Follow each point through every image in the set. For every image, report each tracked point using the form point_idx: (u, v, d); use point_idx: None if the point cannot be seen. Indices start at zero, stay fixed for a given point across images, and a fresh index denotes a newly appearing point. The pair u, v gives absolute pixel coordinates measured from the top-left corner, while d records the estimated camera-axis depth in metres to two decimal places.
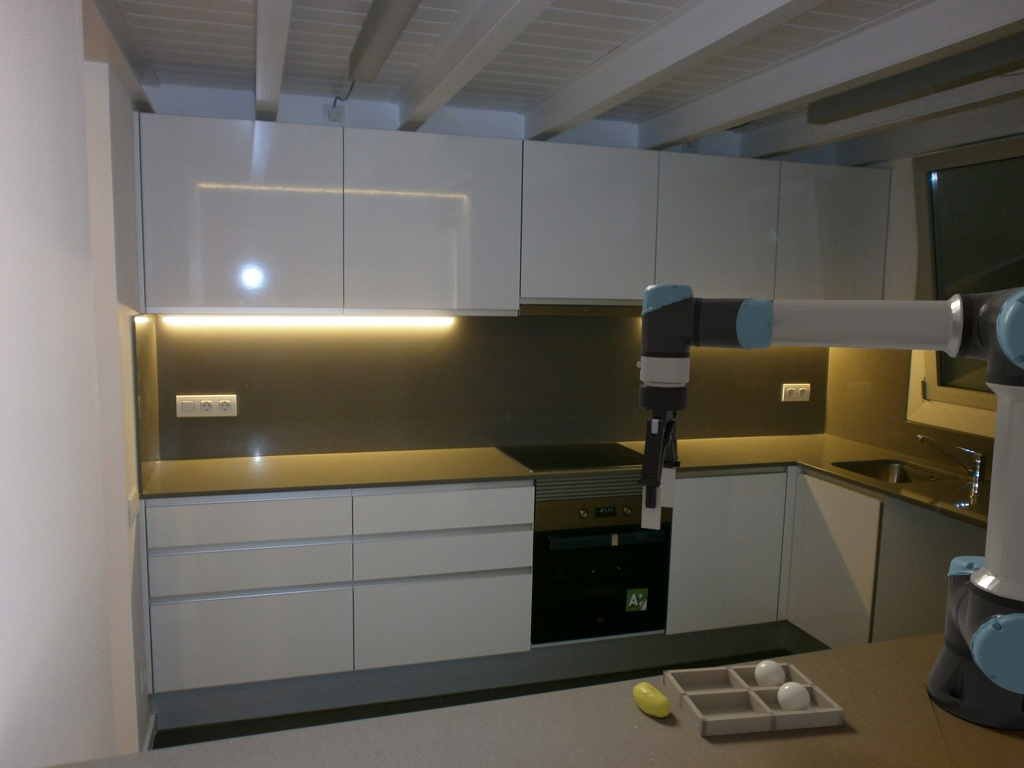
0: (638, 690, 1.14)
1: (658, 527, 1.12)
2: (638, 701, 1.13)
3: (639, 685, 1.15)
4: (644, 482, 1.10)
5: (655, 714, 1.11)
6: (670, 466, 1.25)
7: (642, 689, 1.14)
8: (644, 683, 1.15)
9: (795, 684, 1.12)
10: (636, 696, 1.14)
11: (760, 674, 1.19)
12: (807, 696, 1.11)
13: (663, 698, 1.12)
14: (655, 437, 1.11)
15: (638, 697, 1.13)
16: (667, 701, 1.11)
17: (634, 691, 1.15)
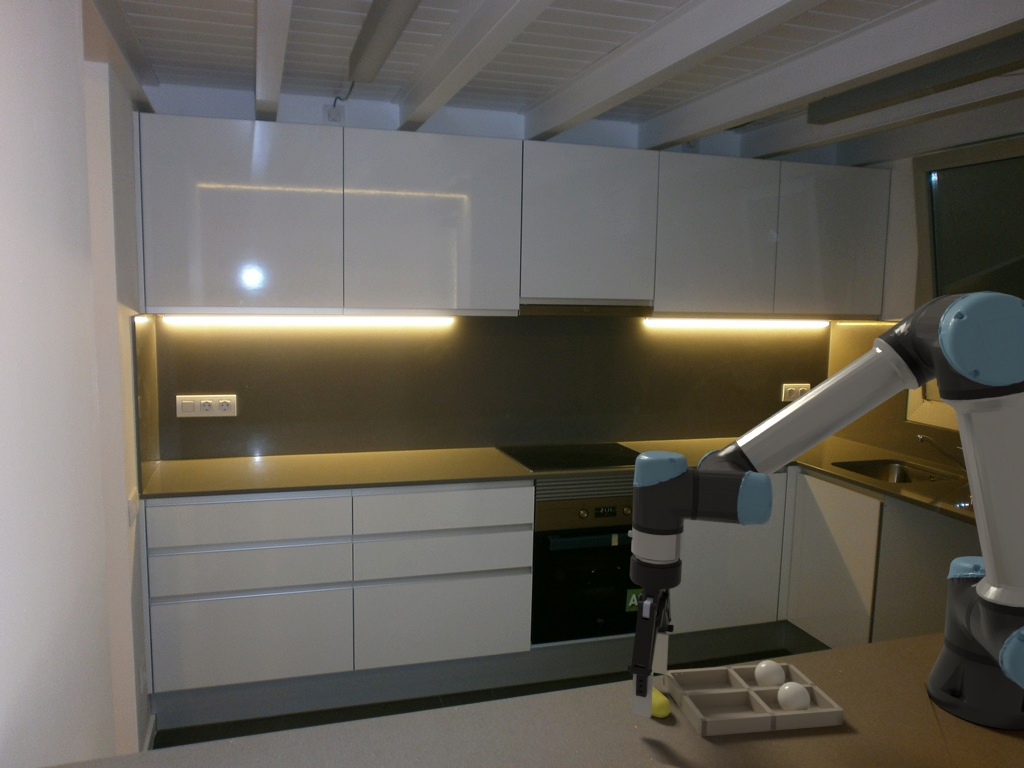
0: None
1: (649, 715, 1.07)
2: None
3: None
4: (634, 672, 1.04)
5: (655, 714, 1.11)
6: (663, 631, 1.19)
7: None
8: None
9: (795, 684, 1.12)
10: None
11: (760, 674, 1.19)
12: (807, 696, 1.11)
13: (663, 698, 1.12)
14: (646, 622, 1.05)
15: None
16: (667, 701, 1.11)
17: None
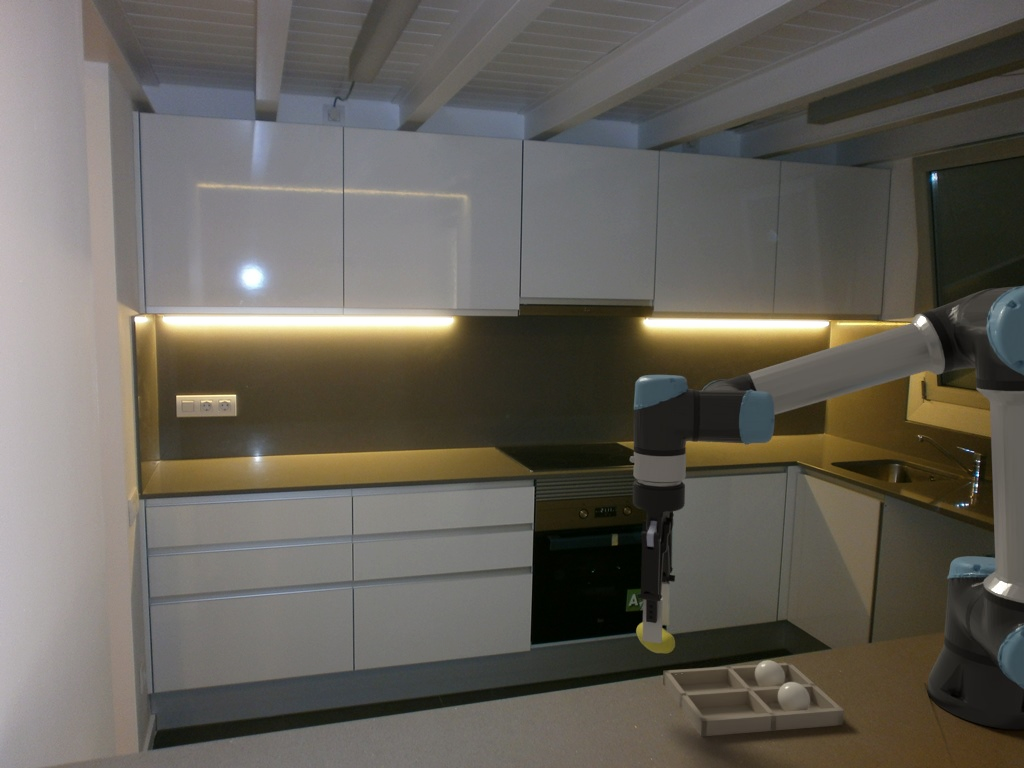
0: (641, 627, 1.13)
1: (660, 641, 1.09)
2: (642, 638, 1.12)
3: (642, 623, 1.14)
4: (644, 597, 1.06)
5: (660, 650, 1.10)
6: (664, 579, 1.15)
7: None
8: None
9: (795, 684, 1.12)
10: (640, 634, 1.13)
11: (760, 674, 1.19)
12: (807, 696, 1.11)
13: (667, 634, 1.10)
14: (652, 551, 1.05)
15: (642, 634, 1.12)
16: (671, 637, 1.10)
17: (637, 629, 1.14)
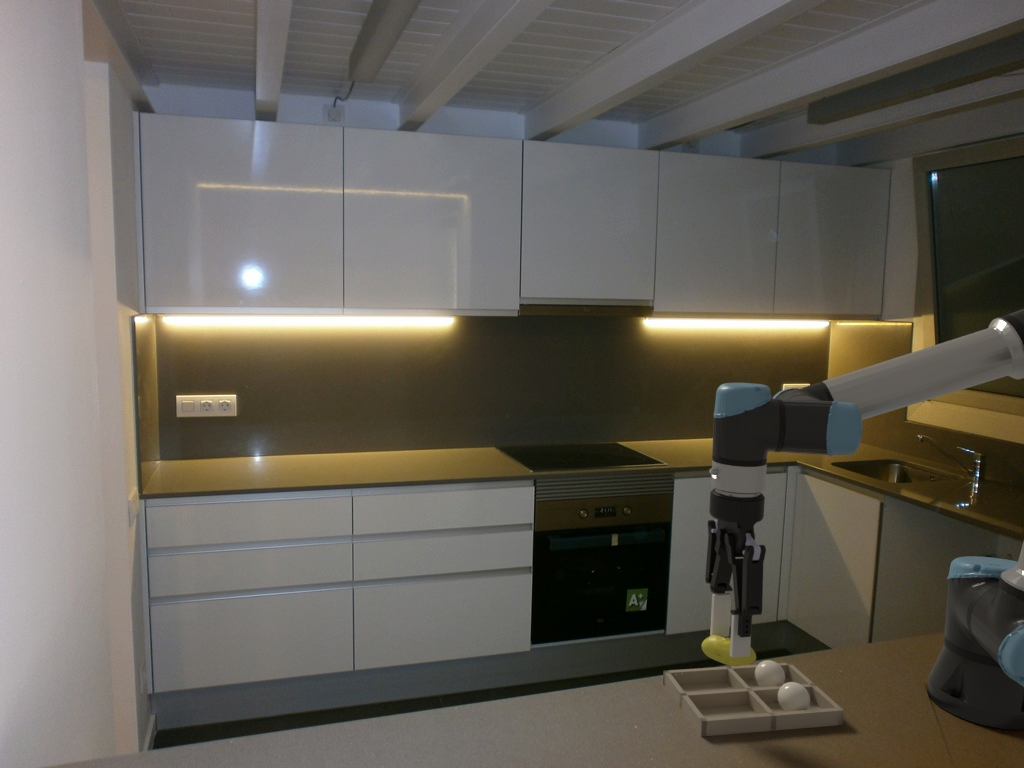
0: (716, 643, 1.10)
1: (748, 654, 1.07)
2: (721, 655, 1.09)
3: (711, 639, 1.11)
4: (749, 613, 1.03)
5: (745, 663, 1.08)
6: (724, 590, 1.13)
7: (720, 641, 1.10)
8: (715, 636, 1.11)
9: (795, 684, 1.12)
10: (716, 650, 1.09)
11: (760, 674, 1.19)
12: (807, 696, 1.11)
13: None
14: (756, 565, 1.03)
15: (720, 651, 1.09)
16: (750, 647, 1.09)
17: (709, 646, 1.10)
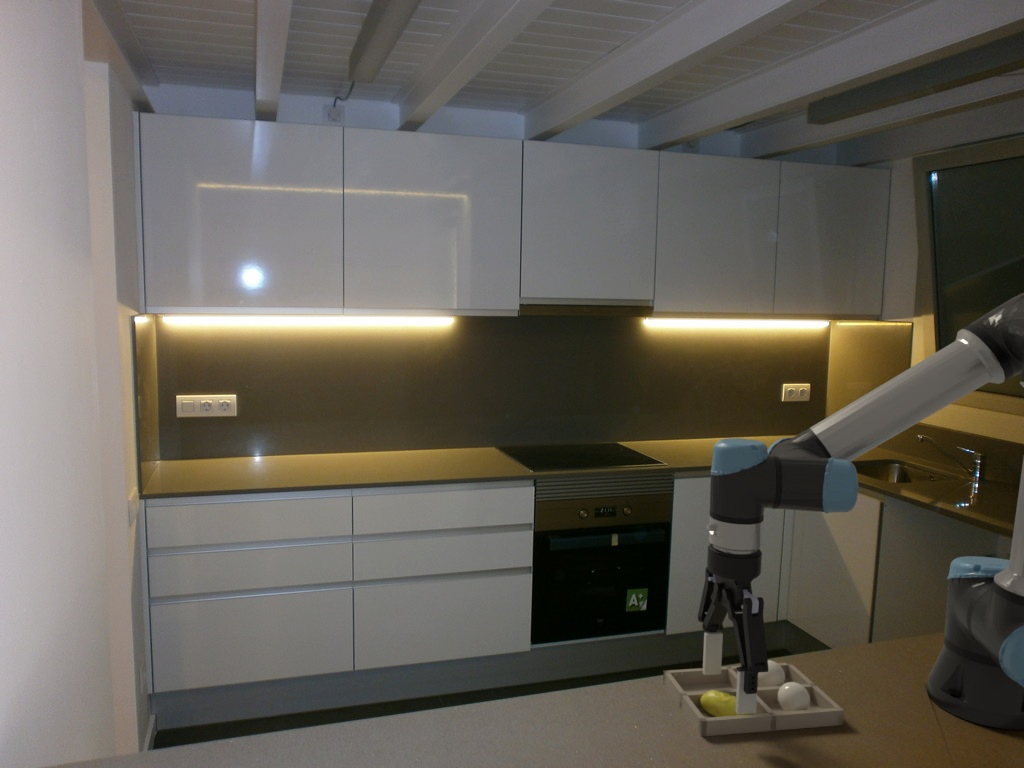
0: (714, 700, 1.10)
1: (755, 710, 1.05)
2: (719, 711, 1.09)
3: (710, 694, 1.11)
4: (755, 671, 1.01)
5: None
6: (715, 630, 1.16)
7: (719, 697, 1.10)
8: (714, 691, 1.12)
9: (795, 684, 1.12)
10: (715, 707, 1.10)
11: (760, 674, 1.19)
12: (807, 696, 1.11)
13: None
14: (756, 618, 1.03)
15: (719, 707, 1.10)
16: None
17: (708, 702, 1.11)
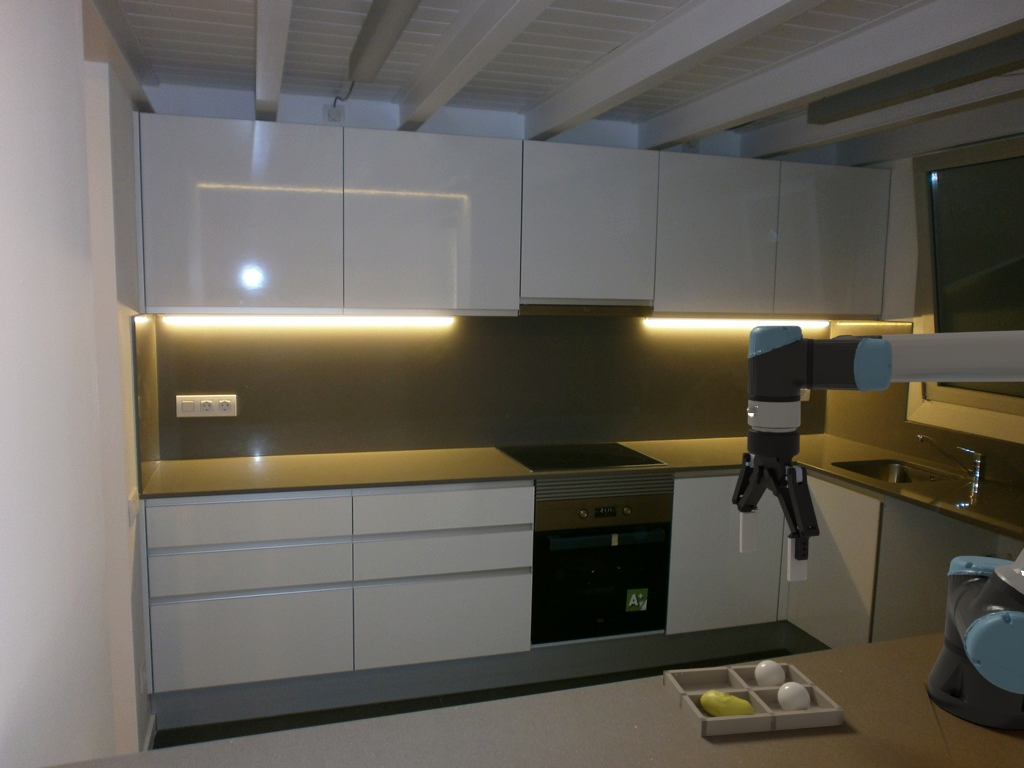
0: (714, 700, 1.10)
1: (805, 578, 1.08)
2: (719, 711, 1.09)
3: (710, 694, 1.11)
4: (807, 535, 1.05)
5: None
6: (750, 510, 1.22)
7: (719, 697, 1.10)
8: (714, 691, 1.12)
9: (795, 684, 1.12)
10: (715, 707, 1.10)
11: (760, 674, 1.19)
12: (807, 696, 1.11)
13: (745, 701, 1.10)
14: (801, 485, 1.07)
15: (719, 707, 1.10)
16: (749, 703, 1.10)
17: (707, 702, 1.11)
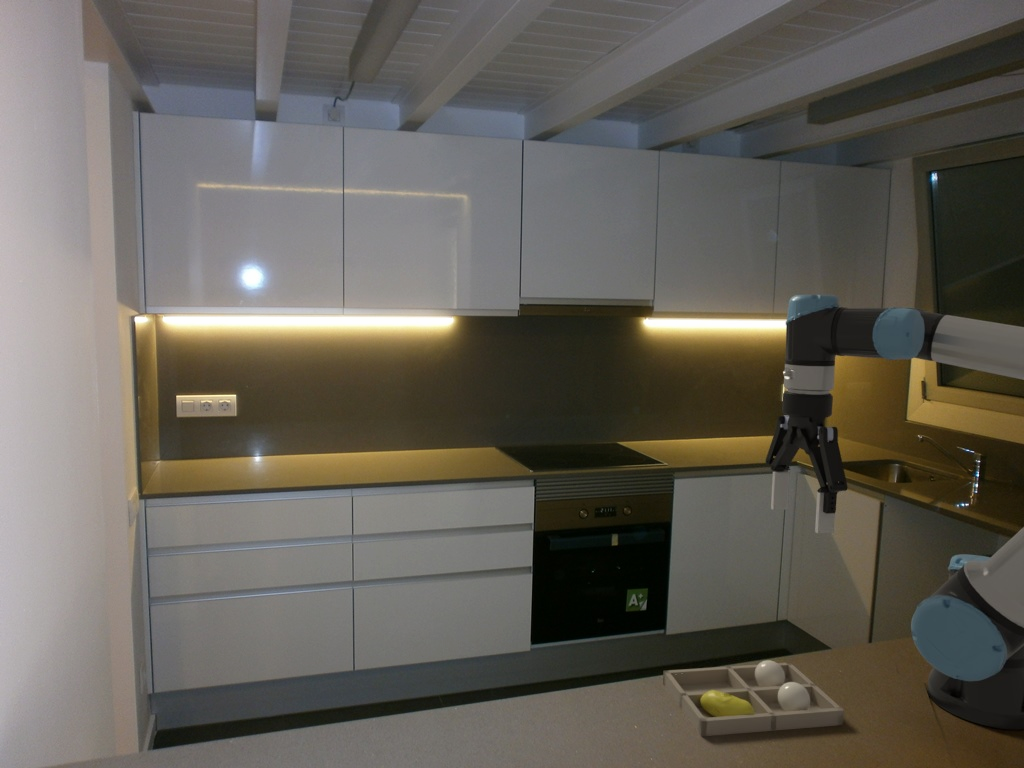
0: (714, 700, 1.10)
1: (832, 530, 1.16)
2: (719, 711, 1.09)
3: (710, 694, 1.11)
4: (836, 489, 1.12)
5: None
6: (783, 470, 1.29)
7: (719, 697, 1.10)
8: (714, 691, 1.12)
9: (795, 684, 1.12)
10: (715, 707, 1.10)
11: (760, 674, 1.19)
12: (807, 696, 1.11)
13: (745, 701, 1.10)
14: (832, 444, 1.14)
15: (719, 707, 1.10)
16: (749, 703, 1.10)
17: (707, 702, 1.11)
